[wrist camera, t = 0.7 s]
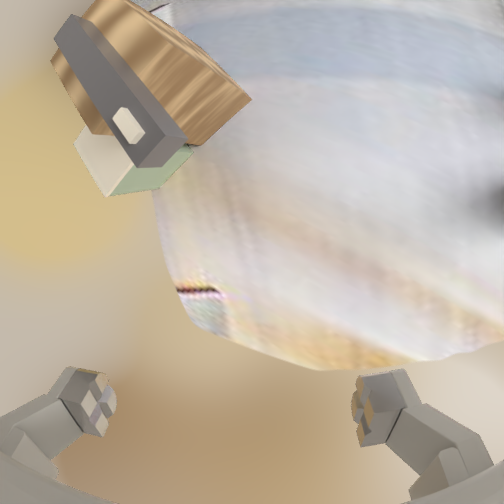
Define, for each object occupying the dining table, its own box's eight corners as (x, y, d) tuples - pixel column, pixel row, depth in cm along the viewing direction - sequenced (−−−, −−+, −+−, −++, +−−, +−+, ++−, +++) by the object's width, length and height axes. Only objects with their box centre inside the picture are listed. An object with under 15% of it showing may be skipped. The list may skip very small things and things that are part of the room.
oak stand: (155, 89, 49) (50, 60, 25) (199, 46, 44) (107, -13, 20) (201, 145, 49) (92, 134, 25) (252, 99, 45) (168, 43, 21)
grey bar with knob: (74, 44, 23) (48, 37, 19) (91, 21, 22) (66, 12, 18) (161, 167, 24) (130, 168, 20) (188, 139, 23) (159, 134, 19)
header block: (128, 145, 54) (73, 144, 40) (159, 109, 50) (105, 97, 36) (158, 188, 54) (104, 197, 40) (193, 152, 50) (142, 149, 36)
